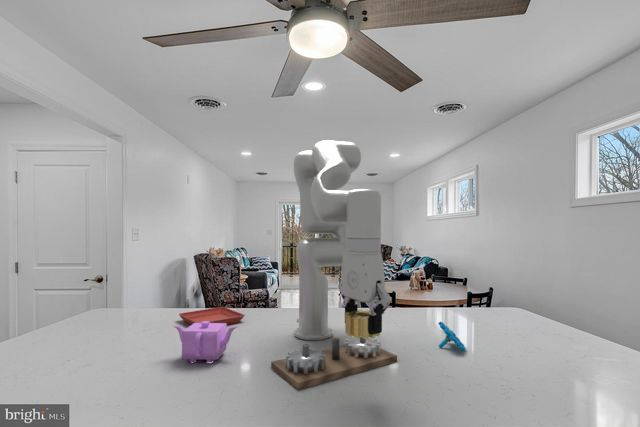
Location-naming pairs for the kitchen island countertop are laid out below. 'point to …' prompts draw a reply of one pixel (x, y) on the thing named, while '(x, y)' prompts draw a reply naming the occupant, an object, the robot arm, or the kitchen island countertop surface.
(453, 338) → the gear
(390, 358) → the gear board
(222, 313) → the plant saucer
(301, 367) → the gear
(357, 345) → the gear
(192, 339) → the teapot
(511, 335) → the kitchen island countertop surface
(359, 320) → the brass gear
